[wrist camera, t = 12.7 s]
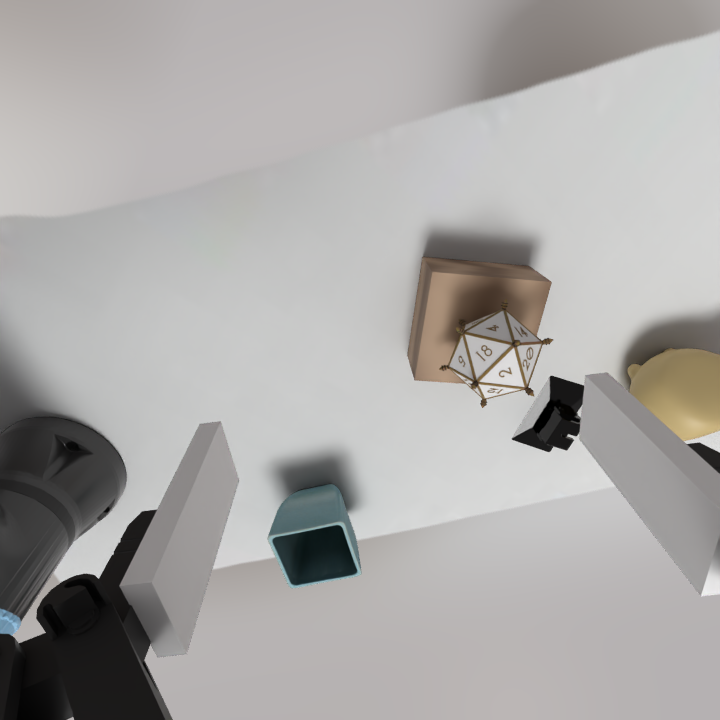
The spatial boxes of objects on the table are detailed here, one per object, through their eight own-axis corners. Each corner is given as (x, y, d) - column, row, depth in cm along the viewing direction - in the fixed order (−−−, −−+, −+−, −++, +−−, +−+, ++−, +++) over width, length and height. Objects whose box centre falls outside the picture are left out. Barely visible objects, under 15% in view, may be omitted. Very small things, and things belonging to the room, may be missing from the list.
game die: (468, 305, 46) (511, 266, 36) (532, 361, 46) (594, 337, 36) (412, 369, 44) (442, 346, 35) (479, 429, 44) (528, 422, 34)
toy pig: (714, 392, 54) (793, 447, 45) (611, 419, 55) (667, 478, 46) (718, 318, 50) (806, 361, 40) (606, 348, 51) (667, 398, 42)
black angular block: (546, 459, 59) (561, 483, 54) (496, 443, 57) (508, 467, 53) (601, 378, 53) (623, 399, 49) (548, 359, 52) (565, 379, 48)
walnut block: (407, 354, 51) (414, 380, 46) (422, 256, 46) (432, 271, 41) (503, 361, 52) (521, 387, 46) (527, 265, 47) (551, 282, 42)
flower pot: (276, 481, 58) (265, 537, 50) (343, 467, 57) (343, 521, 49) (296, 530, 62) (289, 590, 54) (360, 517, 61) (363, 575, 53)
